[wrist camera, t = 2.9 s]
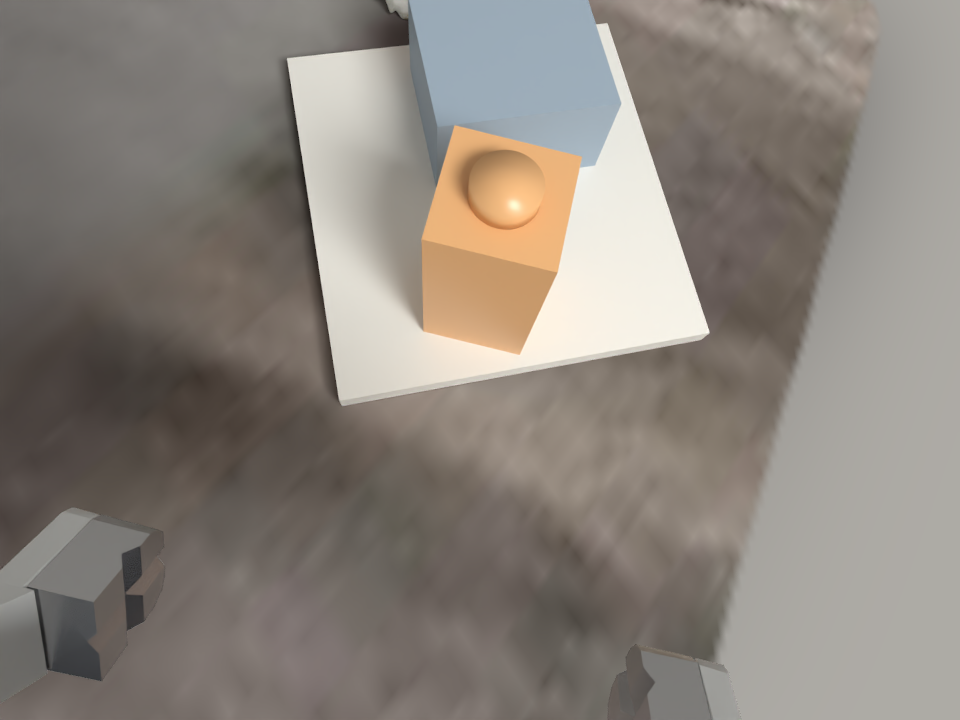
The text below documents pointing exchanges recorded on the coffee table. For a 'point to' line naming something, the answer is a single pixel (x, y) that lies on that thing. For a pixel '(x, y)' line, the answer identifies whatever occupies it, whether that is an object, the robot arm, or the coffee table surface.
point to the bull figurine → (398, 7)
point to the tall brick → (494, 238)
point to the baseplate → (401, 222)
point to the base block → (511, 74)
